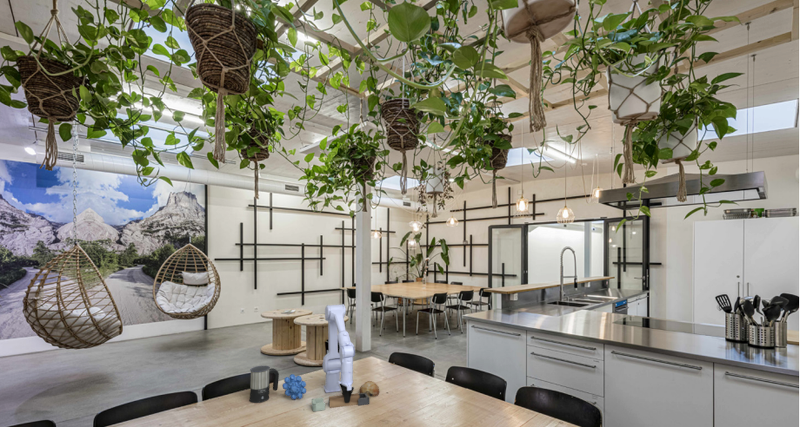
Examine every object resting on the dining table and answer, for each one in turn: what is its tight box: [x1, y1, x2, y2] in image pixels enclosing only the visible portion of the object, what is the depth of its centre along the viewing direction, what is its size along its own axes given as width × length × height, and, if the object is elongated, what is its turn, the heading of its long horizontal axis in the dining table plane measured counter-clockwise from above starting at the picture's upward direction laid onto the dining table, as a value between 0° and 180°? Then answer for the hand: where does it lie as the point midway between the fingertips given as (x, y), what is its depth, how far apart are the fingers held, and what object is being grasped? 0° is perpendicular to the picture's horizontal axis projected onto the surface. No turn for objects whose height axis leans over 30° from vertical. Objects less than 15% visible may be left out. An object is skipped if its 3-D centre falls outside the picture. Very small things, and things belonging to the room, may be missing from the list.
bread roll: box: [359, 380, 380, 398], centre depth 190 cm, size 10×10×8 cm
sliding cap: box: [311, 397, 326, 412], centre depth 173 cm, size 7×5×3 cm
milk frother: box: [249, 365, 280, 404], centre depth 187 cm, size 14×16×15 cm
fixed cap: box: [357, 392, 370, 407], centre depth 179 cm, size 7×5×3 cm
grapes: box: [282, 373, 307, 400], centre depth 182 cm, size 12×7×12 cm, turn 95°
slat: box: [328, 392, 360, 409], centre depth 177 cm, size 4×14×4 cm, turn 109°
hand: (346, 400), depth 177 cm, fingers closed on slat, 3 cm apart
